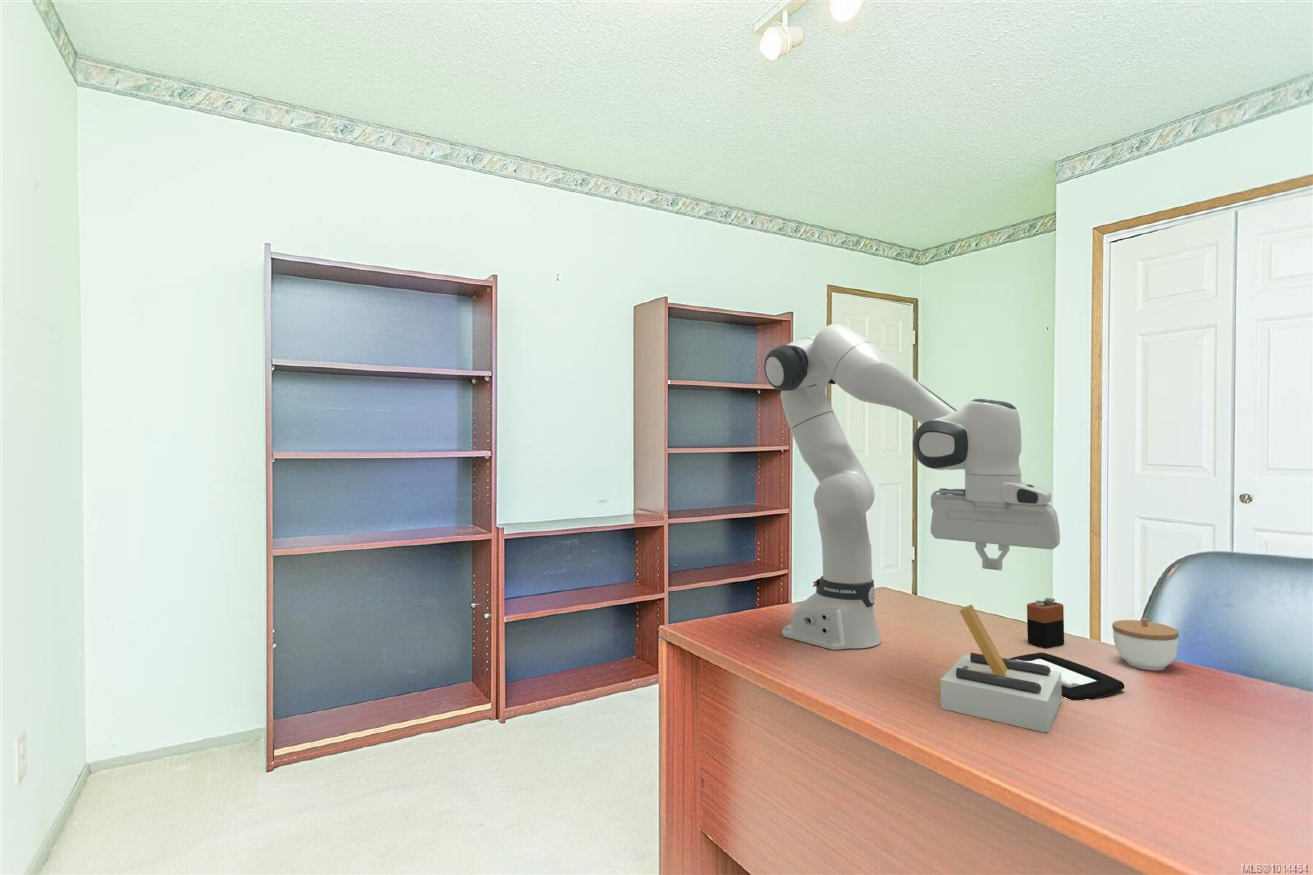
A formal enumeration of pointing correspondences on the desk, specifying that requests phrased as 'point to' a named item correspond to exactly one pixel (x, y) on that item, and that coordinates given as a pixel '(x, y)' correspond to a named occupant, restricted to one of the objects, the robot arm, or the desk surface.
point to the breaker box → (1003, 692)
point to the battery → (1045, 623)
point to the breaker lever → (983, 640)
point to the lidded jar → (1145, 643)
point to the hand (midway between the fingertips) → (992, 569)
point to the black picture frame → (1076, 677)
